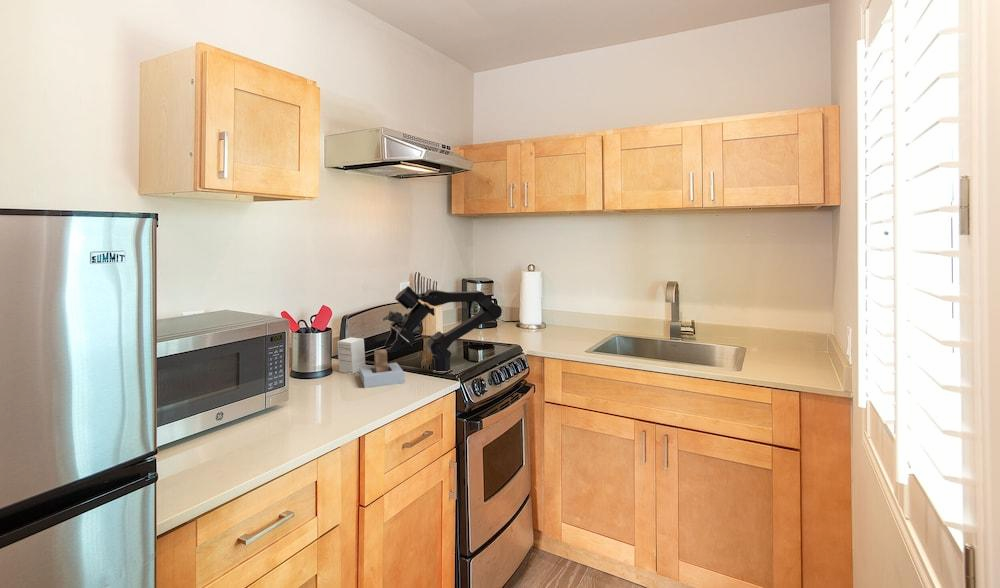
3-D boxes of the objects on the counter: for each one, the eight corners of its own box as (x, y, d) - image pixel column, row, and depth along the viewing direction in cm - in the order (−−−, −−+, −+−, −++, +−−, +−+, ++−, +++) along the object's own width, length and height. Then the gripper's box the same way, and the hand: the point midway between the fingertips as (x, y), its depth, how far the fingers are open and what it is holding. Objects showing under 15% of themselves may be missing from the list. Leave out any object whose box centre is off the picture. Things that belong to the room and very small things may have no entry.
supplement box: (352, 367, 195) (350, 336, 193) (366, 369, 191) (364, 338, 190) (338, 372, 188) (336, 340, 186) (352, 374, 185) (351, 342, 183)
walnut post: (386, 375, 180) (385, 349, 178) (388, 378, 176) (386, 351, 175) (375, 376, 178) (374, 350, 177) (377, 379, 175) (375, 352, 173)
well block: (397, 372, 186) (396, 362, 186) (404, 382, 174) (404, 371, 173) (359, 377, 181) (359, 367, 180) (364, 388, 168) (364, 377, 168)
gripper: (394, 299, 185) (366, 330, 182) (404, 306, 168) (374, 340, 165) (415, 318, 189) (389, 348, 186) (427, 326, 172) (398, 360, 169)
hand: (387, 349), depth 177 cm, fingers open, 9 cm apart
